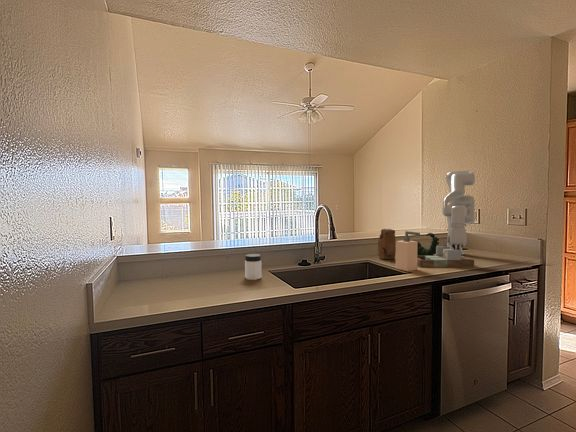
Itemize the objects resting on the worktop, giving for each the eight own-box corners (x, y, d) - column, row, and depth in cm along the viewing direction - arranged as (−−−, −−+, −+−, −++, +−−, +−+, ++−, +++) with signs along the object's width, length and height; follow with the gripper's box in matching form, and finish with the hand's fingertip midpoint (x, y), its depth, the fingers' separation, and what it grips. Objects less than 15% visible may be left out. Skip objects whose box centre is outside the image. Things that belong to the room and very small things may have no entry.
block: (389, 257, 223) (389, 228, 222) (396, 259, 216) (397, 229, 215) (376, 258, 220) (376, 229, 218) (383, 260, 213) (383, 230, 211)
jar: (254, 275, 174) (253, 253, 174) (264, 277, 169) (264, 254, 168) (241, 278, 167) (241, 255, 167) (252, 280, 162) (252, 257, 161)
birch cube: (443, 257, 201) (443, 249, 201) (450, 257, 201) (451, 249, 201) (447, 258, 196) (447, 250, 196) (455, 258, 196) (455, 250, 196)
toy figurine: (439, 261, 214) (408, 253, 235) (442, 234, 212) (410, 227, 233) (431, 263, 209) (399, 254, 230) (434, 235, 207) (402, 228, 228)
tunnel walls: (435, 255, 207) (436, 246, 206) (448, 255, 207) (448, 246, 206) (447, 260, 192) (447, 250, 191) (460, 260, 192) (461, 250, 191)
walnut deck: (410, 261, 207) (410, 255, 207) (460, 261, 207) (460, 255, 207) (419, 266, 192) (419, 260, 192) (474, 266, 192) (474, 259, 192)
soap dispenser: (395, 268, 188) (395, 231, 187) (404, 266, 193) (405, 230, 191) (413, 272, 177) (414, 233, 176) (423, 270, 182) (424, 232, 181)
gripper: (466, 225, 202) (465, 254, 203) (442, 225, 202) (441, 254, 203) (473, 226, 194) (472, 256, 195) (448, 226, 194) (447, 256, 195)
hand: (456, 255), depth 199 cm, fingers closed
